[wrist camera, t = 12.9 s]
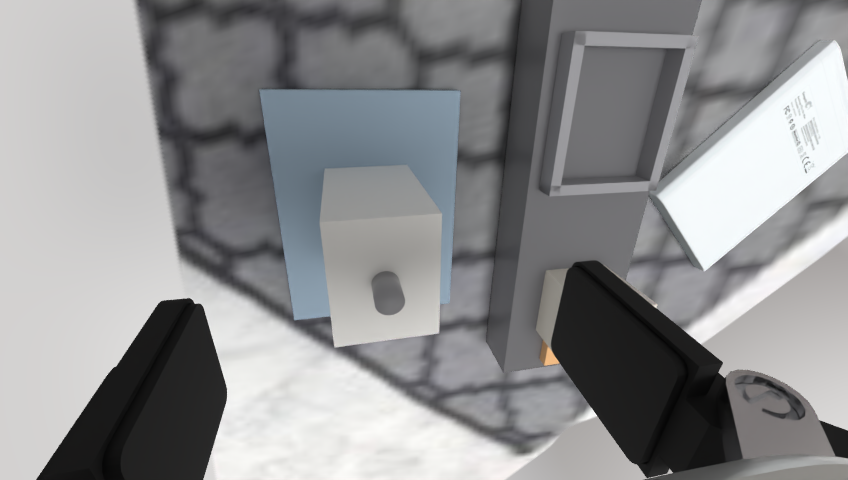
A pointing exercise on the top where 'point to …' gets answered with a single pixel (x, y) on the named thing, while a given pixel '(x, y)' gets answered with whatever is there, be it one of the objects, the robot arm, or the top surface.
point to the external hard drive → (759, 157)
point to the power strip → (581, 153)
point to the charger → (380, 254)
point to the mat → (353, 165)
